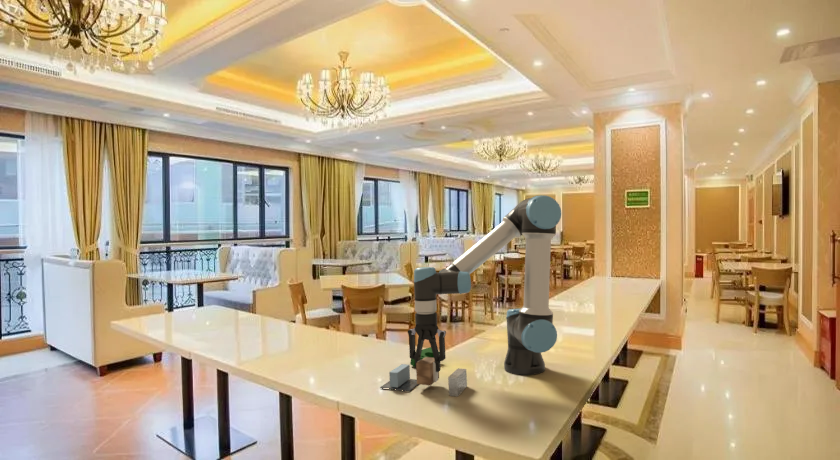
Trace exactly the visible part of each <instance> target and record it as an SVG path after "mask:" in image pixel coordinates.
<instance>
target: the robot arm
mask: <svg viewBox="0 0 840 460" xmlns="http://www.w3.org/2000/svg"><path fill="white" fill-rule="evenodd" d="M561 218H562V210H561V206H560V204H559V202H558V201H557V200H556V199H554V198H553V197H551V196H549V195H535V196H533V197H529V198H525V199H523V200H521V201H520V202H518V204H516V205H515V206H514V207H513V208H512V209H511V210H510V211H509V212H508V213H507V214H506V215H504V217H502V221H501V223H499V224H497V226H496V227H494V228H493V229H492V230H491V231H489V232H488V233H487V234H486V235H485V236H483V237H482V238H481V239H480V240H478V242H476V243H474V245H472V246H471V247H470V248H469V249H468V250H466V251H465V252H464V253H462V255H460V256H459V257H458V258H456V259H455V260H453V262H452V263H450V264H449V265H448V266H446V268H443V269H440V270H439V272H437V270H436V267H434V266H433V267H432V266H424V267H423V266H422V267H421V266H420V267H415V269H414V271H413V289H414V290H413V293H414V312H415V313H414V320H415V322H414V323H415V327H414V328H409V329H408V330H407V335H408V337H409V338H408V339H409V346H408V347H409V349H408V350H409V359H410V360H411V359H414V360H415V367H414V368H415V370H416V363H417V362H419V361H420V360H422V359H420V357H421V352H422V350H423V349H424V348H423V347H424V342H425V340H427V341H428V343H429V344H430V347H431V349H432V352H433V356H434V360H435V362H433V382H434V383H437V381H439V379H438V372H439V373H440V371H441V362H443V361H444V360H445V359H446V358H447V357H446V340H445V339H446V334H447V331H446V330H442V329H440V328H439V327H438V313H437V311H438V310H437V308H438V307H437V295H452V294H454V295H458V294H459V295H462V294H469V292H470V291H471V288H472V281H471V280H472V279H471V274H472V273H473V272H474V271H476V270H478V268H479V267H481V266H482V265H483V264H484V263H485V262H487V261H488V260H490V258H491V257H493V256H494V255H496V254H497V253H498V252H499V251H500V250H501V249H503V248H504V247H505V246H506V245H507V244H509V243H510V242H511V241H512V240H513V239H515V238H521V237H522V236H523V237H524V238H525V253H524V254H525V255H524V281H523V282H524V284H523V285H524V287H523V305H522V307H521V308H509V309H507V310H506V318H505V319H506V331H507V332H506V333H507V335H506V337H507V352H506V354H505V358H504V361H503V362H504V363H503V365H504V366H503V367H504V368H503V369H504V370H505V371H506V372H508V373H510V374H515V375H525V376H528V375H538V374H541V373H543V372H545V370H546V366H545V365H546V364H545V361H544V358H543V356H542V353H546V352H547V351H550V350H551V349H552V348H553V347H554V346H555V344H556V342H557V339H558V331H557V329H556V326H555V325H554V324H553V323H554V320H553V319H554V312H553V311H552V310H551V309H550V305H549V303H550V278H551V277H550V275H551V274H550V273H551V249H552V239H554V237H555V236H556V231H557V225H558V224H559V222H560V220H561ZM416 335H417V345H416ZM436 335H437V337H438V343H437V337H436ZM437 344H438V345H437Z"/></svg>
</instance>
